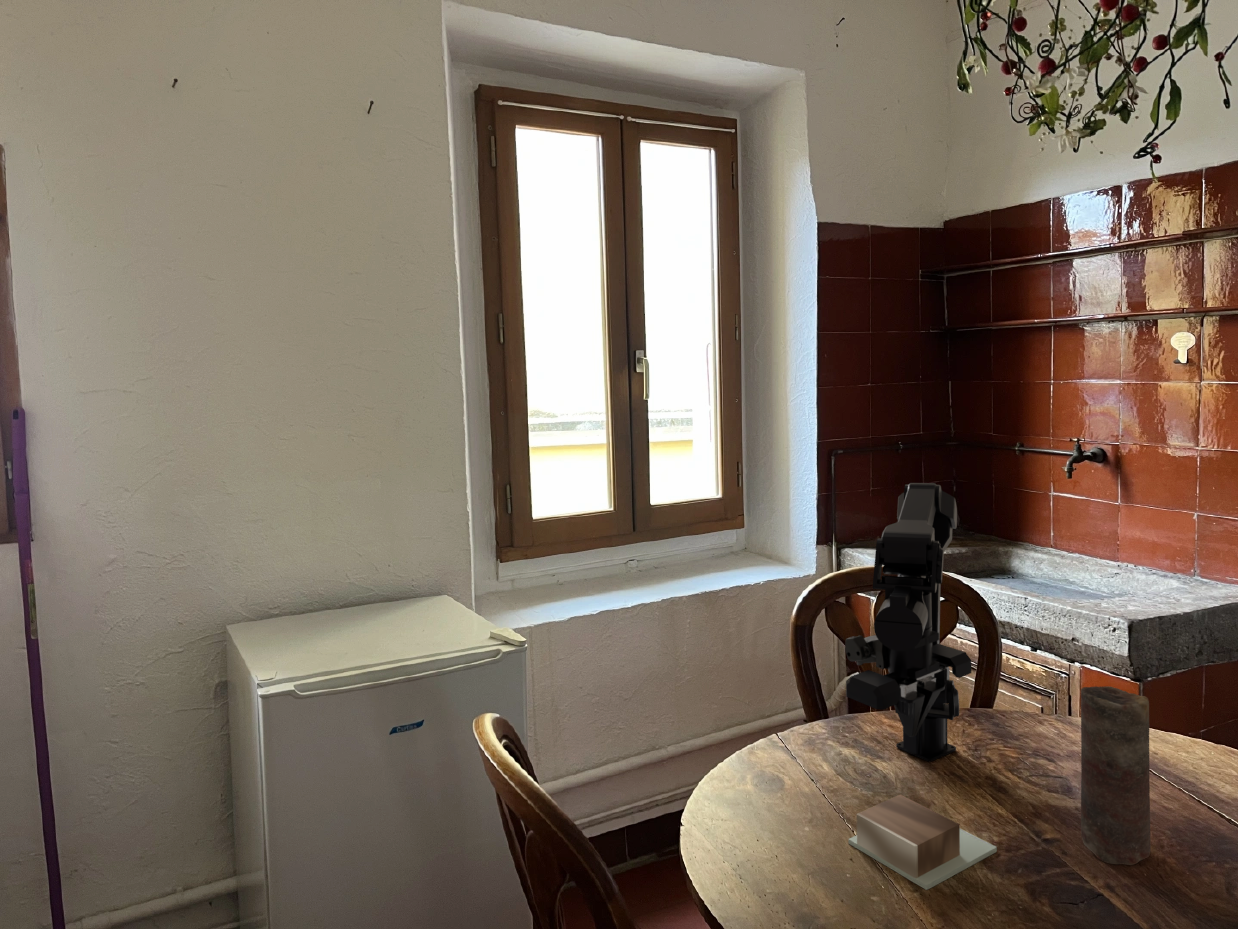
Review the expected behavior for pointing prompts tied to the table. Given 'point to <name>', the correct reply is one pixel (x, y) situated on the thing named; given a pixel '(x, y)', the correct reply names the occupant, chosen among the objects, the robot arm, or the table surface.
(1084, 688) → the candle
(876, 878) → the table surface
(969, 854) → the sage mat
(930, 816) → the walnut slab
